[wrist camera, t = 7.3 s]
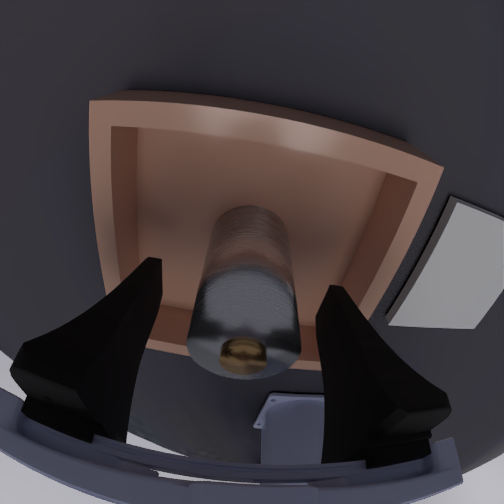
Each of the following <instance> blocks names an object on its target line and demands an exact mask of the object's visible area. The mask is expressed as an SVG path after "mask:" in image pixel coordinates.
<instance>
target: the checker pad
mask: <svg viewBox="0 0 504 504" xmlns="http://www.w3.org/2000/svg"><path fill="white" fill-rule="evenodd" d="M503 289H504V218H503V217H501V216H498V215H496V214H494V213H492V212H489V211H487V210H485V209H482V208H480V207H477V206H475V205H473V204H470V203H468V202H465V201H463V200H460V199H457V198H455V197H452V196H450V198H449V201H448V203H447V205H446V207H445V210H444V212H443V214H442V216H441V218H440V220H439V222H438V225H437V227H436V229H435V231H434V233H433V235H432V237H431V239H430V241H429V243H428V245H427V247H426V248H425V250H424V252H423V254H422V256H421V258H420V260H419V262H418V263H417V265H416V267H415V269H414V271H413V272H412V274H411V276H410V278H409V279H408V281H407V283H406V284H405V286H404V288H403V290H402V291H401V293H400V295H399V296H398V298H397V299H396V301H395V303H394V304H393V306H392V307H391V309H390V311H389V312H388V314H387V315H386V320H387V323H388V325H393V326H410V327H430V328H459V329H474V328H475V327H476V326H477V324H478V323H479V322H480V321H481V319H482V318H483V317H484V315H485V314H486V313H487V311H488V310H489V309H490V307H491V306H492V305H493V303H494V302H495V300H496V299H497V298H498V296H499V295H500V293H501V292H502V290H503Z"/></svg>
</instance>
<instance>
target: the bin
mask: <svg viewBox="0 0 504 504" xmlns="http://www.w3.org/2000/svg"><path fill="white" fill-rule="evenodd" d="M89 155H90V176H91V191H92V202H93V212H94V221H95V229H96V237H97V244H98V251H99V257H100V263H101V269H102V274H103V280H104V285H105V290H106V295H108V294H109V293H110V292H111V291H112V290H113V289H115V288H116V287H117V286H118V285H119V284H120V283H121V282H122V281H123V280H124V279H125V278H127V277H128V276H129V275H130V274H131V273H132V272H133V271H134V270H135V269H136V268H137V267H138V266H139V265H140V264H141V263H142V262H143V261H144V260H145V259H146V258H147V257H154V258H160V259H162V281H163V296H162V300H161V304H160V308H159V311H158V315H157V318H156V320H155V323H154V326H153V328H152V331H151V333H150V336H149V339H148V341H147V344H146V348H151V349H155V350H160V351H165V352H171V353H176V354H182V355H187V356H190V354H189V352H188V350H187V345H186V341H187V335H188V331H189V326H190V322H191V317H192V313H193V308H194V304H195V299H196V295H197V291H198V287H199V282H200V278H201V274H202V270H203V266H204V262H205V257H206V253H207V249H208V245H209V241H210V238H211V234H212V230H213V227H214V225H215V223H216V221H217V220H218V218H219V217H220V216H221V215H222V214H224V213H225V212H226V211H228V210H230V209H232V208H235V207H238V206H244V205H254V206H260V207H263V208H266V209H268V210H270V211H272V212H274V213H275V214H276V215H277V216H279V217H280V219H281V220H282V221H283V223H284V224H285V226H286V228H287V232H288V238H289V246H290V253H291V261H292V268H293V276H294V284H295V292H296V301H297V309H298V318H299V327H300V336H301V347H302V349H301V354H300V356H299V358H298V360H297V361H296V362H295V363H294V364H293V365H292V366H291V367H290V368H292V369H306V370H321V364H320V358H319V352H318V346H317V339H316V322H315V316H316V314H317V312H318V309H319V307H320V305H321V303H322V301H323V299H324V296H325V294H326V292H327V290H328V288H329V285H337V286H343V287H344V289H345V290H346V291H347V293H348V294H349V296H350V297H351V298H352V300H353V301H354V302H355V304H356V305H357V307H358V308H359V309H360V311H361V312H362V314H363V315H364V316H365V318H366V319H367V320H368V319H369V318H370V316H371V315H372V313H373V311H374V310H375V308H376V306H377V305H378V303H379V301H380V300H381V298H382V296H383V294H384V293H385V291H386V289H387V287H388V286H389V284H390V282H391V280H392V278H393V277H394V275H395V273H396V271H397V269H398V267H399V266H400V264H401V262H402V260H403V258H404V256H405V254H406V252H407V250H408V248H409V246H410V244H411V242H412V240H413V238H414V236H415V234H416V232H417V230H418V228H419V226H420V223H421V221H422V219H423V217H424V215H425V212H426V210H427V208H428V206H429V203H430V201H431V199H432V196H433V194H434V192H435V189H436V187H437V184H438V182H439V179H440V177H441V174H442V172H443V169H444V167H443V166H441V165H440V164H439V163H437V162H436V161H435V160H433V159H432V158H430V157H429V156H428V155H426V154H425V153H423V152H422V151H420V150H419V149H417V148H416V147H414V146H413V145H411V144H410V143H408V142H405V141H402V140H400V139H397V138H394V137H391V136H388V135H386V134H383V133H380V132H377V131H374V130H370V129H367V128H364V127H361V126H358V125H354V124H351V123H347V122H344V121H340V120H337V119H333V118H329V117H326V116H322V115H318V114H314V113H309V112H305V111H301V110H296V109H292V108H287V107H282V106H277V105H272V104H267V103H261V102H256V101H250V100H243V99H237V98H230V97H222V96H214V95H206V94H196V93H185V92H172V91H154V90H123V91H120V92H116V93H113V94H109V95H106V96H103V97H100V98H96V99H93V100H90V103H89Z"/></svg>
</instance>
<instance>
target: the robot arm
mask: <svg viewBox="0 0 504 504" xmlns="http://www.w3.org/2000/svg"><path fill="white" fill-rule="evenodd" d="M162 296H163V281H162V259H160V258H154V257H147V258H146V259H145V260H144V261H143V262H142V263H141V264H140V265H139V266H138V267H137V268H136V269H135V270H134V271H133V272H132V273H131V274H130V275H129V276H128V277H127V278H125V279H124V280H123V281H122V282H121V283H120V284H119V285H118V286H117V287H116V288H115V289H113V290H112V291H111V292H110V293H109V294H108V295H106V296H105V297H104V298H103V299H102V300H100V301H99V302H98V303H96V304H95V305H94V306H92V307H91V308H90V309H88V310H87V311H85V312H84V313H82V314H81V315H79V316H78V317H76V318H74V319H73V320H71V321H70V322H68V323H66V324H64V325H63V326H61V327H59V328H57V329H55V330H53V331H51V332H49V333H47V334H44V335H42V336H40V337H37V338H35V339H32V340H30V341H27V342H24V343H23V345H22V346H21V348H20V350H19V352H18V354H17V355H16V357H15V359H14V362H13V364H12V366H11V368H10V373H11V376H12V378H13V379H14V381H15V382H16V383H17V384H18V385H19V386H20V388H21V389H22V390H23V391H24V392H25V394H26V395H27V397H26V399H25V402H24V401H23V400H22V399H21V398H19V397H17V396H15V395H13V394H12V393H10V392H8V391H6V390H4V389H2V388H0V451H1V452H3V453H4V454H6V455H7V456H9V457H11V458H13V459H14V460H16V461H18V462H19V463H21V464H23V465H25V466H27V467H29V468H30V469H32V470H34V471H36V472H38V473H40V474H42V475H44V476H46V477H48V478H51V479H53V480H55V481H57V482H59V483H62V484H64V485H66V486H68V487H71V488H73V489H76V490H78V491H81V492H83V493H86V494H89V495H91V496H94V497H97V498H100V499H103V500H106V501H109V502H112V503H116V504H409V503H413V502H416V501H419V500H422V499H425V498H428V497H431V496H433V495H436V494H438V493H441V492H444V491H446V490H448V489H451V488H453V487H455V486H458V485H460V484H462V483H463V478H462V473H461V468H460V464H459V459H458V455H457V451H456V447H455V443H454V439H453V438H452V437H451V438H448V439H444V440H440V441H437V442H434V443H431V444H429V440H428V439H430V438H431V437H432V434H431V429H433V428H434V427H435V426H437V425H438V424H440V423H441V422H442V421H444V420H445V419H446V418H447V417H448V416H449V415H450V413H451V411H452V409H451V406H450V403H449V400H448V397H447V394H446V392H444V391H442V390H441V389H439V388H438V387H436V386H435V385H433V384H432V383H430V382H429V381H427V380H426V379H425V378H423V377H422V376H421V375H419V374H418V373H417V372H416V371H414V370H413V369H412V368H411V367H410V366H409V365H407V364H406V363H405V362H404V361H403V360H402V359H401V358H400V357H399V356H398V355H397V354H396V353H395V352H394V351H393V350H392V349H391V348H390V347H389V346H388V345H387V344H386V343H385V341H384V340H383V339H382V338H381V337H380V336H379V334H378V333H377V332H376V331H375V329H374V328H373V327H372V326H371V324H370V323H369V322H368V320H367V319H366V318H365V316H364V315H363V314H362V312H361V311H360V309H359V308H358V307H357V305H356V304H355V302H354V301H353V300H352V298H351V297H350V296H349V294H348V293H347V291H346V290H345V289H344V287H343V286H337V285H329V288H328V290H327V292H326V294H325V296H324V299H323V301H322V303H321V305H320V307H319V309H318V312H317V314H316V316H315V322H316V339H317V346H318V352H319V358H320V364H321V370H322V376H323V384H324V395H306V394H286V393H271V394H269V396H268V398H267V400H266V402H265V404H264V406H263V407H262V409H261V411H260V413H259V415H258V417H257V419H256V421H255V422H254V428H262V431H261V464H248V463H234V462H224V461H215V460H207V459H199V458H193V457H186V456H180V455H174V454H169V453H164V452H159V451H155V450H150V449H146V448H142V447H138V446H133V445H130V444H126V438H127V430H128V422H129V415H130V409H131V403H132V397H133V392H134V387H135V382H136V378H137V373H138V369H139V365H140V361H141V358H142V355H143V352H144V349H145V347H146V344H147V341H148V339H149V336H150V333H151V331H152V328H153V326H154V323H155V320H156V318H157V315H158V311H159V308H160V304H161V300H162ZM151 469H152V470H151ZM154 470H157V471H162V472H167V473H172V474H178V475H183V476H190V477H196V478H204V479H212V480H221V481H233V482H248V483H260V485H255V484H237V483H224V482H211V481H188V480H180V479H172V478H165V477H159V476H158V475H159V473H158V472H157V471H154Z"/></svg>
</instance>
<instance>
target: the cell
mask: <svg viewBox="0 0 504 504" xmlns="http://www.w3.org/2000/svg"><path fill="white" fill-rule="evenodd" d="M186 345H187V350H188V352H189V354H190V356H191V357H192V358H193V360H194V361H195V362H196V363H197V364H199V365H200V366H201V367H203V368H205V369H206V370H208V371H210V372H212V373H215V374H217V375H221V376H224V377H229V378H234V379H260V378H266V377H270V376H273V375H276V374H279V373H281V372H283V371H285V370H287V369H288V368H290V367H291V366H292V365H293V364H294V363H295V362H296V361H297V360H298V358H299V356H300V354H301V349H302V347H301V336H300V327H299V318H298V309H297V301H296V292H295V284H294V276H293V268H292V261H291V253H290V246H289V238H288V232H287V228H286V226H285V224H284V223H283V221H282V220H281V219H280V217H279V216H277V215H276V214H275V213H274V212H272V211H270V210H268V209H266V208H263V207H260V206H254V205H244V206H238V207H235V208H232V209H230V210H228V211H226V212H225V213H224V214H222V215H221V216H220V217H219V218H218V220H217V221H216V223H215V225H214V227H213V230H212V234H211V238H210V241H209V245H208V249H207V253H206V257H205V262H204V266H203V270H202V274H201V278H200V282H199V287H198V291H197V295H196V299H195V304H194V308H193V313H192V317H191V322H190V326H189V331H188V335H187V341H186Z"/></svg>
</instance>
